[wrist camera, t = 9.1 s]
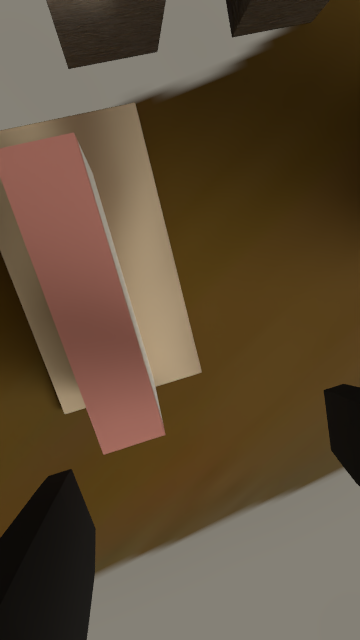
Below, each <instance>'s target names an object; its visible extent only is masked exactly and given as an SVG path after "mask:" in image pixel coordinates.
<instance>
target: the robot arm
mask: <svg viewBox="0 0 360 640" xmlns="http://www.w3.org/2000/svg"><path fill="white" fill-rule="evenodd" d="M324 396H325V404H326V412H327V420H328V428H329V437H330V445H331V450H332V452H333V453H334V455H335V456H336V457H337V459H338V460H339V461H340V463H341V464H342V465H343V467H344V468H345V469H346V471H347V472H348V473H349V474H350V475H351V477H352V478H353V479H354V480H355V482H356V483H357V484H358V485H359V486H360V388H359V387H355V386H351V385H346V384H342V385H339V386H335V387H332V388H329V389H326V390H324ZM94 575H95V526H94V524H93V521H92V519H91V516H90V514H89V511H88V509H87V506H86V504H85V501H84V499H83V496H82V494H81V491H80V489H79V486H78V484H77V481H76V479H75V476H74V474H73V471H72V469H70V470H67V471H63V472H60V473H57V474H54V475H51V476H48V477H47V478H46V480H45V481H44V482H43V483H42V484H41V486H40V487H39V488H38V489H37V491H36V492H35V493H34V495H33V496H32V497H31V499H30V500H29V501H28V503H27V504H26V505H25V507H24V508H23V509H22V510H21V512H20V513H19V514H18V516H17V517H16V518H15V520H14V521H13V522H12V524H11V525H10V526H9V528H8V529H7V530H6V531H5V533H4V534H3V535H2V537H1V538H0V640H87V633H88V625H89V617H90V609H91V600H92V591H93V583H94Z"/></svg>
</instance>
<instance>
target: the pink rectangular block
mask: <svg viewBox="0 0 360 640" xmlns="http://www.w3.org/2000/svg"><path fill="white" fill-rule="evenodd" d="M0 178H1V181H2V183H3V186H4V189H5V191H6V194H7V197H8V200H9V202H10V205H11V208H12V210H13V213H14V216H15V218H16V221H17V224H18V226H19V229H20V232H21V234H22V237H23V240H24V242H25V245H26V248H27V250H28V253H29V256H30V258H31V261H32V264H33V267H34V269H35V272H36V275H37V277H38V280H39V283H40V285H41V288H42V291H43V293H44V296H45V299H46V301H47V304H48V307H49V309H50V312H51V315H52V317H53V320H54V323H55V326H56V328H57V331H58V334H59V336H60V339H61V342H62V344H63V347H64V350H65V352H66V355H67V358H68V360H69V363H70V366H71V368H72V371H73V374H74V376H75V379H76V382H77V384H78V387H79V390H80V393H81V395H82V398H83V401H84V403H85V406H86V409H87V411H88V414H89V417H90V419H91V422H92V425H93V427H94V430H95V433H96V435H97V438H98V441H99V443H100V446H101V449H102V452H103V454H107V453H110V452H113V451H117V450H120V449H123V448H126V447H129V446H132V445H135V444H138V443H141V442H144V441H147V440H151V439H154V438H157V437H160V436H163V435H165V431H164V426H163V421H162V416H161V412H160V407H159V402H158V397H157V393H156V388H155V383H154V378H153V375H152V371H151V368H150V365H149V361H148V358H147V355H146V351H145V348H144V344H143V341H142V338H141V334H140V331H139V328H138V324H137V321H136V318H135V314H134V311H133V307H132V304H131V301H130V297H129V294H128V291H127V287H126V284H125V281H124V277H123V274H122V270H121V267H120V264H119V260H118V257H117V254H116V250H115V247H114V244H113V240H112V237H111V233H110V230H109V227H108V223H107V220H106V217H105V213H104V210H103V207H102V203H101V200H100V196H99V193H98V190H97V186H96V183H95V180H94V176H93V173H92V171H91V169H90V166H89V164H88V162H87V160H86V158H85V155H84V153H83V151H82V149H81V147H80V145H79V142H78V140H77V138H76V136H75V134H74V133H69V134H64V135H60V136H55V137H50V138H46V139H41V140H37V141H32V142H27V143H23V144H18V145H13V146H9V147H4V148H0Z"/></svg>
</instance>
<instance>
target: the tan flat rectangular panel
mask: <svg viewBox="0 0 360 640" xmlns="http://www.w3.org/2000/svg"><path fill="white" fill-rule="evenodd" d="M69 133H74V134H75V136H76V138H77V140H78V142H79V145H80V147H81V149H82V151H83V153H84V155H85V158H86V160H87V162H88V164H89V166H90V169H91V171H92V173H93V176H94V180H95V183H96V186H97V190H98V193H99V196H100V200H101V203H102V207H103V210H104V213H105V217H106V220H107V223H108V227H109V230H110V233H111V237H112V240H113V244H114V247H115V250H116V254H117V257H118V260H119V264H120V267H121V270H122V274H123V277H124V281H125V284H126V287H127V291H128V294H129V297H130V301H131V304H132V307H133V311H134V314H135V318H136V321H137V324H138V328H139V331H140V334H141V338H142V341H143V344H144V348H145V351H146V355H147V358H148V361H149V365H150V368H151V371H152V375H153V378H154V383H155V387H156V386H159V385H162V384H166V383H169V382H172V381H175V380H179V379H182V378H185V377H188V376H192V375H195V374H198V373H202V372H201V368H200V363H199V359H198V355H197V351H196V347H195V343H194V339H193V335H192V331H191V327H190V323H189V319H188V315H187V311H186V307H185V303H184V299H183V295H182V291H181V287H180V283H179V279H178V274H177V270H176V266H175V262H174V258H173V254H172V250H171V246H170V242H169V238H168V234H167V230H166V226H165V222H164V218H163V214H162V210H161V206H160V202H159V198H158V194H157V189H156V185H155V181H154V177H153V173H152V169H151V165H150V161H149V157H148V153H147V149H146V145H145V141H144V137H143V133H142V129H141V125H140V121H139V117H138V113H137V109H136V104H135V103H130V104H125V105H121V106H116V107H111V108H106V109H102V110H97V111H92V112H87V113H82V114H77V115H73V116H68V117H63V118H58V119H54V120H49V121H44V122H39V123H34V124H29V125H25V126H20V127H15V128H11V129H5V130H1V131H0V148H4V147H9V146H13V145H18V144H23V143H27V142H32V141H37V140H41V139H46V138H50V137H55V136H60V135H64V134H69ZM0 251H1V254H2V256H3V259H4V261H5V264H6V267H7V269H8V272H9V274H10V277H11V279H12V282H13V284H14V287H15V289H16V292H17V294H18V297H19V299H20V302H21V305H22V307H23V310H24V312H25V315H26V317H27V320H28V322H29V325H30V327H31V330H32V332H33V335H34V338H35V340H36V343H37V345H38V348H39V350H40V353H41V355H42V358H43V360H44V363H45V365H46V368H47V370H48V373H49V376H50V378H51V381H52V383H53V386H54V388H55V391H56V393H57V396H58V398H59V401H60V403H61V406H62V409H63V411H64V414H67V413H70V412H74V411H77V410H80V409H84V408H86V406H85V403H84V401H83V398H82V395H81V393H80V390H79V387H78V384H77V382H76V379H75V376H74V374H73V371H72V368H71V366H70V363H69V360H68V358H67V355H66V352H65V350H64V347H63V344H62V342H61V339H60V336H59V334H58V331H57V328H56V326H55V323H54V320H53V317H52V315H51V312H50V309H49V307H48V304H47V301H46V299H45V296H44V293H43V291H42V288H41V285H40V283H39V280H38V277H37V275H36V272H35V269H34V267H33V264H32V261H31V258H30V256H29V253H28V250H27V248H26V245H25V242H24V240H23V237H22V234H21V232H20V229H19V226H18V224H17V221H16V218H15V216H14V213H13V210H12V208H11V205H10V202H9V200H8V197H7V194H6V191H5V189H4V186H3V183H2V181H1V178H0Z"/></svg>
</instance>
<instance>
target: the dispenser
mask: <svg viewBox="0 0 360 640" xmlns="http://www.w3.org/2000/svg"><path fill="white" fill-rule="evenodd" d="M165 1H166V0H47V4H48V7H49V10H50V13H51V16H52V19H53V22H54V25H55V28H56V32H57V35H58V38H59V41H60V44H61V47H62V50H63V53H64V56H65V59H66V62H67V65H68V69H71V68H76V67H81V66H86V65H92V64H97V63H102V62H107V61H112V60H118V59H122V58H128V57H133V56H138V55H143V54H148V53H153V52H157V50H158V44H159V38H160V32H161V25H162V20H163V14H164V7H165ZM329 1H330V0H226V4H227V9H228V16H229V22H230V28H231V34H232V37H237V36H242V35H247V34H252V33H257V32H263V31H268V30H273V29H278V28H283V27H289V26H294V25H299V24H304V23H309V22H312V21H313V20H314V19H315V17H316V16H317V15H318V14H319V13H320V11H321V10H322V9H323V8H324V7H325V5H326V4H327V3H328V2H329Z"/></svg>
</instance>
